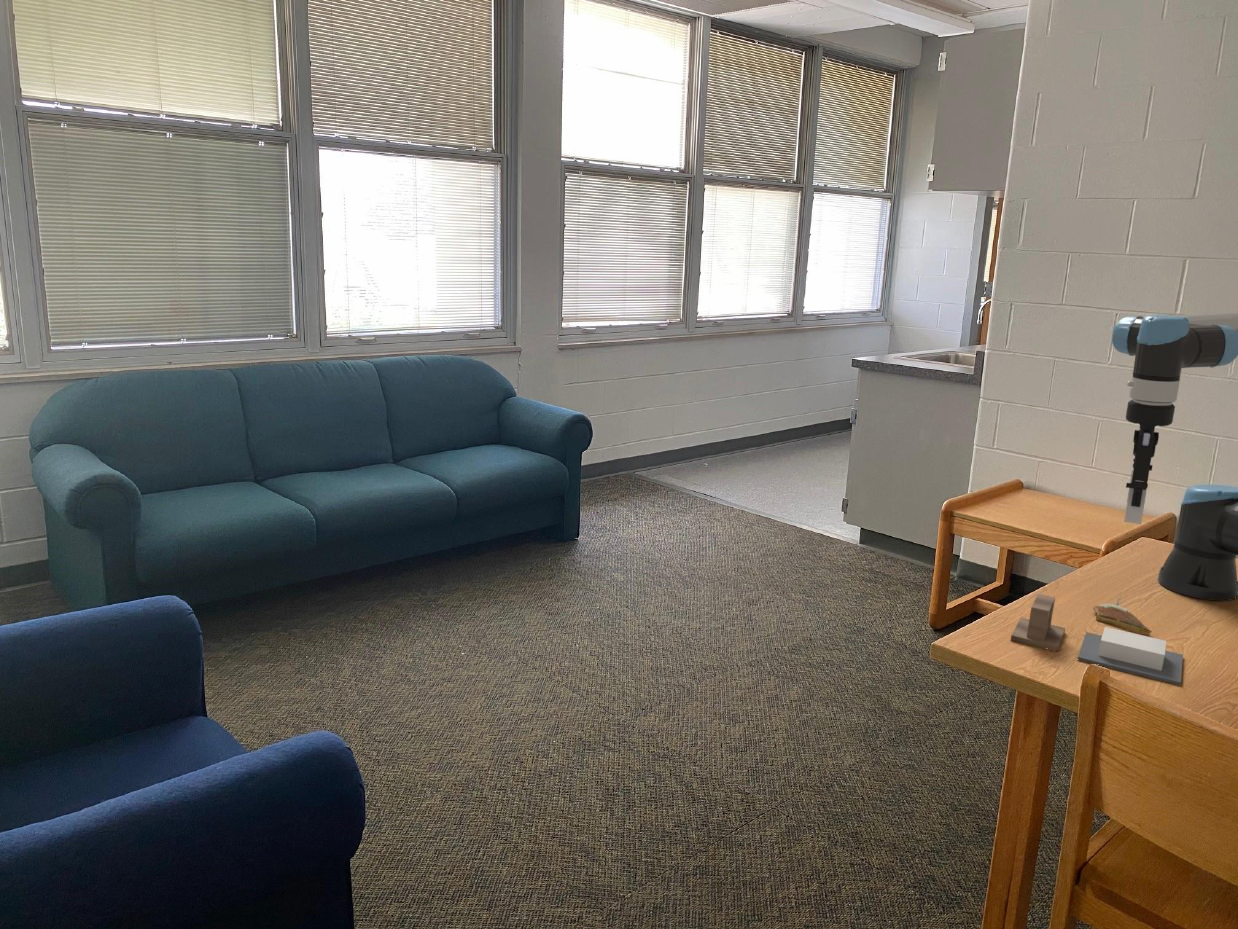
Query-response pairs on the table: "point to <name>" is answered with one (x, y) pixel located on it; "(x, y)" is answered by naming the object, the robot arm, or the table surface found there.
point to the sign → (1113, 605)
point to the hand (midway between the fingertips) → (1133, 512)
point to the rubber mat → (1169, 669)
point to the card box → (1132, 648)
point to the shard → (1120, 619)
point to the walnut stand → (1039, 626)
